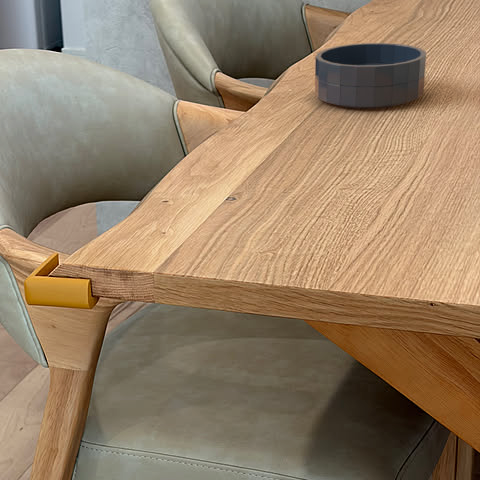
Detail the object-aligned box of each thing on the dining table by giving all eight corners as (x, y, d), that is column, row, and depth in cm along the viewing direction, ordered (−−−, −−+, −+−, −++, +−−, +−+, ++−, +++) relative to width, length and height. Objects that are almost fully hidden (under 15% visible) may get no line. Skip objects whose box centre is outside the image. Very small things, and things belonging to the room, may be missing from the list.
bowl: (445, 94, 106) (448, 50, 104) (376, 117, 100) (378, 71, 97) (362, 79, 115) (363, 39, 113) (293, 100, 108) (293, 57, 106)
